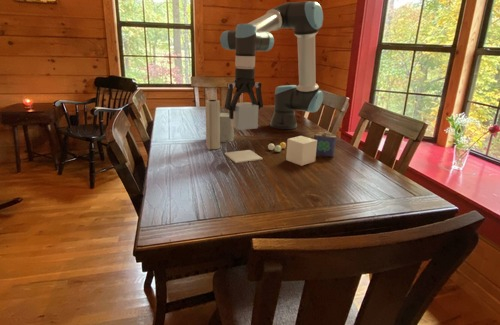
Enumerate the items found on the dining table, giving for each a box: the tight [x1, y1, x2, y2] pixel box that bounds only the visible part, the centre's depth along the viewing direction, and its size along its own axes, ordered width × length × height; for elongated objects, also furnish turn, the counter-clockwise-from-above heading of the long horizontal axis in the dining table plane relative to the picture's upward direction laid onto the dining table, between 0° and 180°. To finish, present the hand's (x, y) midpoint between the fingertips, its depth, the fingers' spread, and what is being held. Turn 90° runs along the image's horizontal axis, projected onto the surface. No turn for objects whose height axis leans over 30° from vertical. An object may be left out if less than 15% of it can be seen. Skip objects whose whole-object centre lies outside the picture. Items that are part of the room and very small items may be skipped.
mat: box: [224, 149, 263, 164], centre depth 138 cm, size 12×12×1 cm
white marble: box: [267, 142, 276, 151], centre depth 147 cm, size 3×3×3 cm
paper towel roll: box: [205, 99, 221, 151], centre depth 144 cm, size 7×6×21 cm
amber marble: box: [278, 141, 287, 150], centre depth 149 cm, size 3×3×3 cm
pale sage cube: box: [230, 101, 259, 131], centre depth 132 cm, size 8×8×9 cm
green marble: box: [274, 144, 282, 153], centre depth 145 cm, size 3×3×3 cm
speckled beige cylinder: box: [220, 112, 235, 143], centre depth 159 cm, size 10×10×12 cm
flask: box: [313, 131, 337, 158], centre depth 140 cm, size 9×3×11 cm, turn 74°
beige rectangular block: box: [285, 135, 317, 167], centre depth 134 cm, size 8×8×9 cm
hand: (243, 125), depth 133 cm, fingers closed on pale sage cube, 8 cm apart
